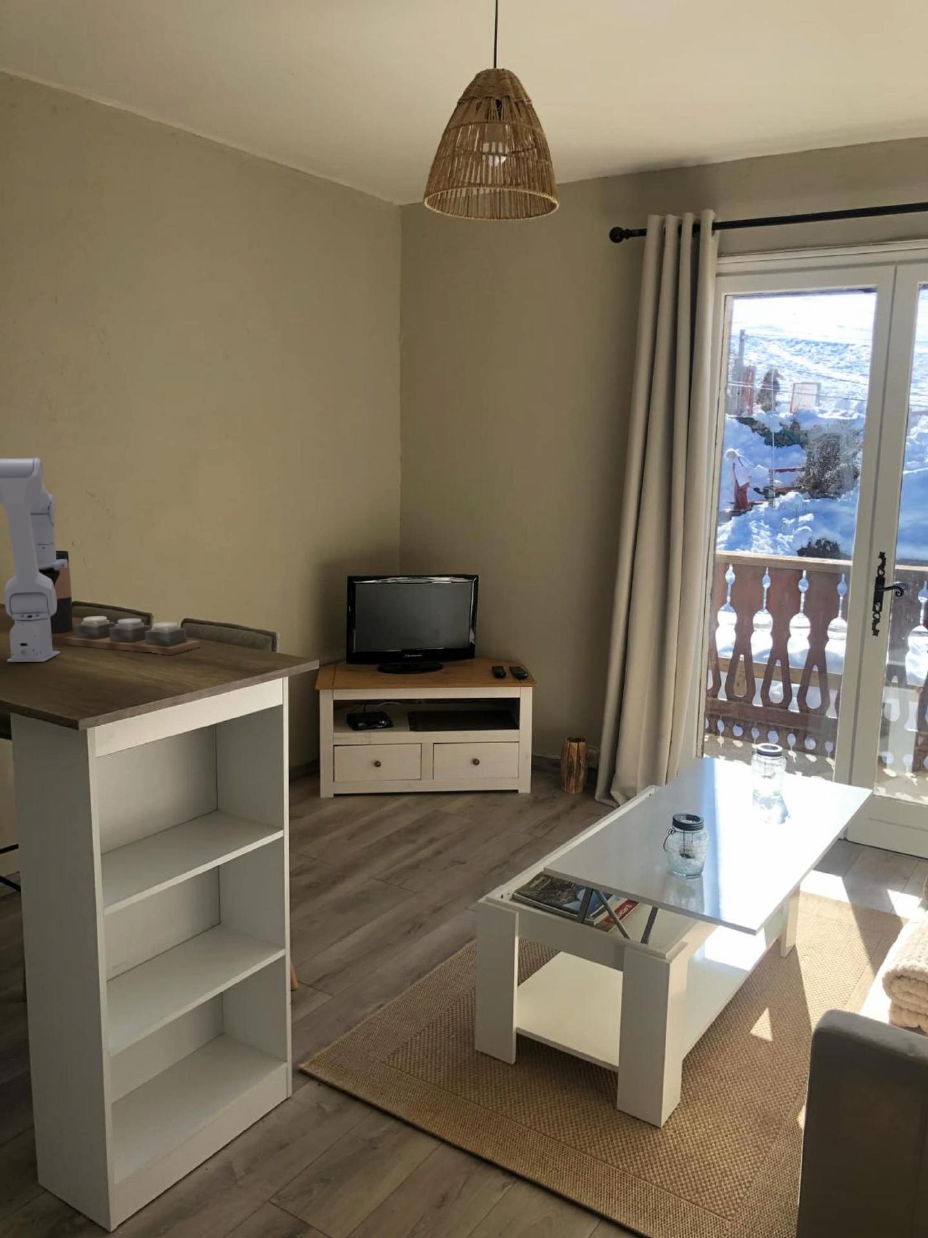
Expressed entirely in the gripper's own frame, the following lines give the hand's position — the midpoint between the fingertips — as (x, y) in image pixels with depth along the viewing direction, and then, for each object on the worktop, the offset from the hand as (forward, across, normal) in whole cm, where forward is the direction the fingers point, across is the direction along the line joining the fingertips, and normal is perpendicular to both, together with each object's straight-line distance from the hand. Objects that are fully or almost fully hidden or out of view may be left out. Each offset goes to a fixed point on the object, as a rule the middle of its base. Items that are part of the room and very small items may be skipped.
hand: (46, 601), depth 240 cm
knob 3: (+8, 0, -32) cm, 33 cm away
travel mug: (+10, +14, +9) cm, 19 cm away
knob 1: (+8, +3, -11) cm, 14 cm away
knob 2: (+8, +1, -21) cm, 23 cm away
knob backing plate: (+10, +2, -22) cm, 24 cm away
